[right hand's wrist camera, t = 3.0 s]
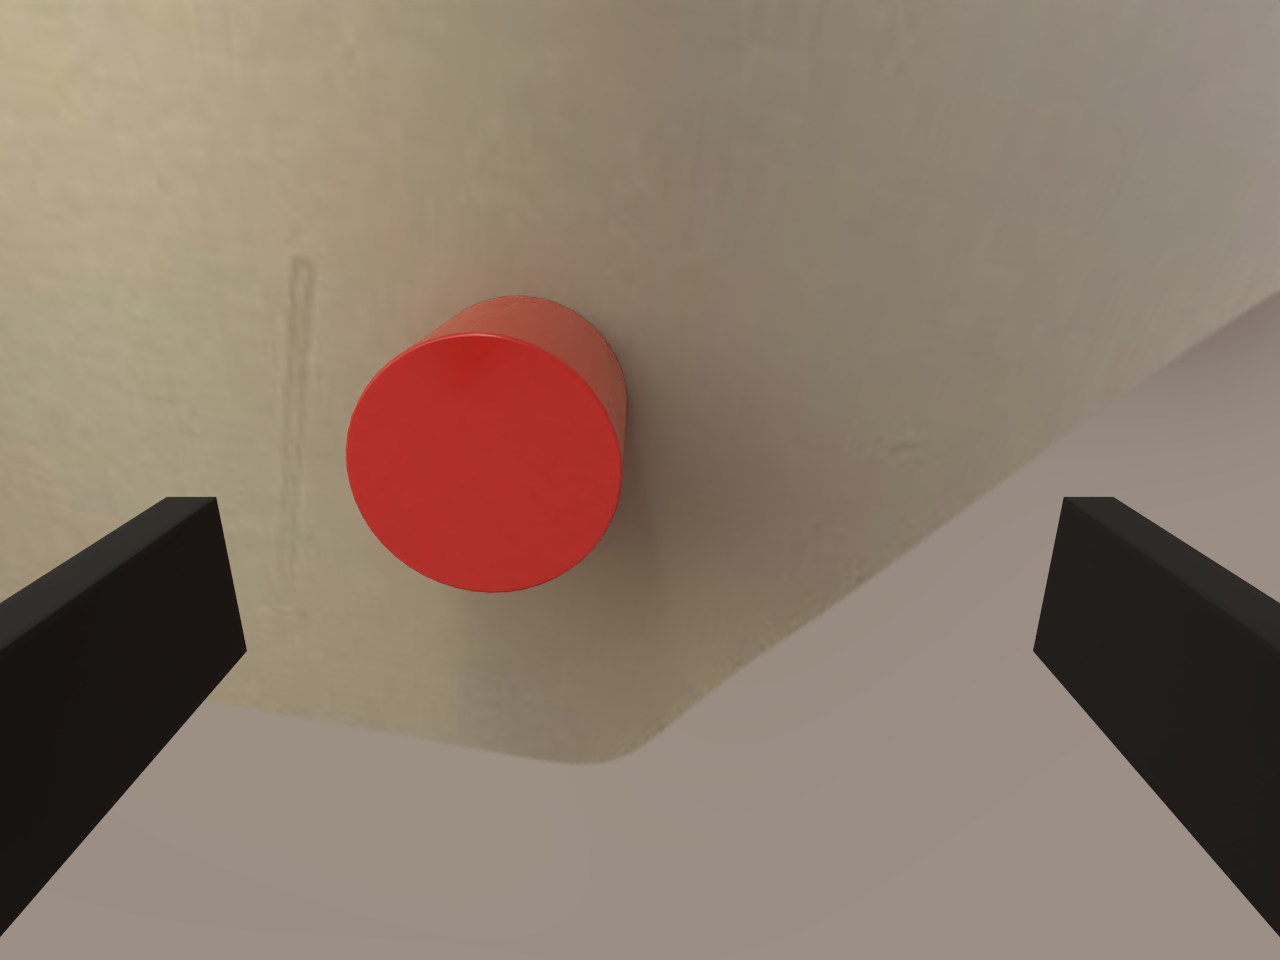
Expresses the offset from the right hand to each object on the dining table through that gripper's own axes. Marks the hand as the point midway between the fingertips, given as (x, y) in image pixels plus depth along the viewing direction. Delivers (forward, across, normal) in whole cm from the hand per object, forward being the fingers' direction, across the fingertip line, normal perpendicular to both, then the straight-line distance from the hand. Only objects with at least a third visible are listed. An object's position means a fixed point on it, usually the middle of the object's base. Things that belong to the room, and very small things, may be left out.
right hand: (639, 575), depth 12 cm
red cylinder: (+16, -4, -1) cm, 17 cm away
